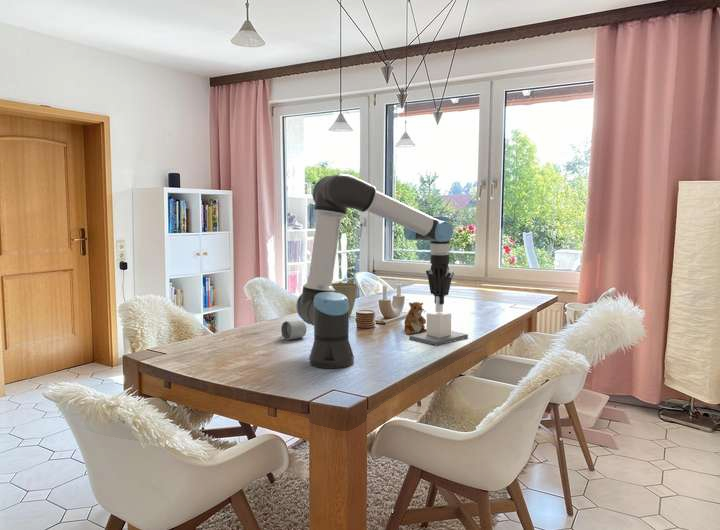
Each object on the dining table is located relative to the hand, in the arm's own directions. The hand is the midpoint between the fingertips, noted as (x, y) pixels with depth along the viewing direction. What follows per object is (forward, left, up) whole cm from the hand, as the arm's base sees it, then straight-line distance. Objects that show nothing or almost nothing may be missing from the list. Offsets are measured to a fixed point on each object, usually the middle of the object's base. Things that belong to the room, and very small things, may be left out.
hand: (439, 312), depth 212 cm
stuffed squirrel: (+2, +16, -11) cm, 20 cm away
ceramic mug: (-45, +40, -11) cm, 61 cm away
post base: (0, 0, -11) cm, 11 cm away
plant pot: (+1, +64, -11) cm, 65 cm away
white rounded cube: (0, 0, -10) cm, 10 cm away
